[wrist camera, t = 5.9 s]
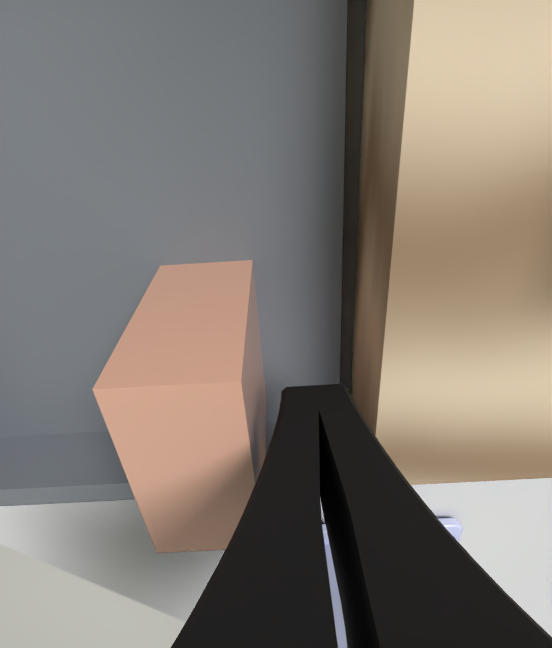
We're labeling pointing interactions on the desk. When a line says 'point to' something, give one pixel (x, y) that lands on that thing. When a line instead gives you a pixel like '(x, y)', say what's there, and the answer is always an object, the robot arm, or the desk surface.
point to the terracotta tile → (189, 403)
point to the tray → (158, 202)
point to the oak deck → (456, 239)
